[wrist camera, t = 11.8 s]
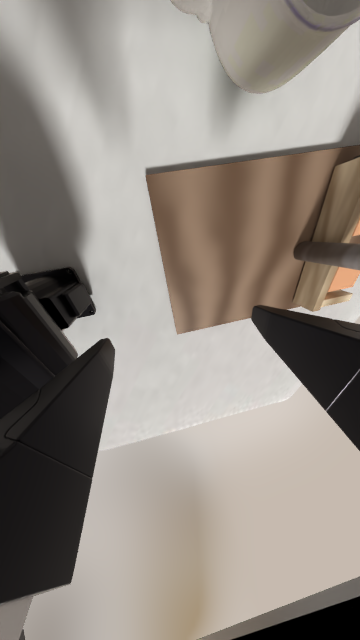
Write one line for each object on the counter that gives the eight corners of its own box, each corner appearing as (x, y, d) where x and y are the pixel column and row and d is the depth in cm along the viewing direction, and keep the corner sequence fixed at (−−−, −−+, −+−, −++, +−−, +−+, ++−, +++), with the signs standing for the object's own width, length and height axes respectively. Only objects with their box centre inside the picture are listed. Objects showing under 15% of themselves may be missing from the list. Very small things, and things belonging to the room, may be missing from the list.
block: (302, 284, 24) (328, 292, 20) (311, 258, 22) (340, 263, 18) (324, 279, 24) (352, 286, 21) (334, 253, 22) (368, 257, 18)
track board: (176, 332, 25) (177, 334, 24) (145, 177, 14) (145, 175, 14) (333, 296, 27) (337, 298, 27) (407, 140, 17) (415, 137, 16)
